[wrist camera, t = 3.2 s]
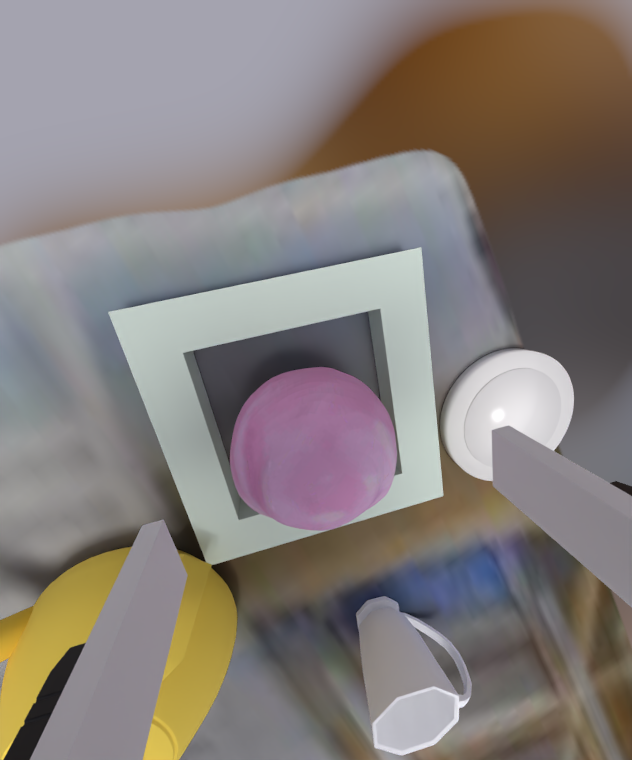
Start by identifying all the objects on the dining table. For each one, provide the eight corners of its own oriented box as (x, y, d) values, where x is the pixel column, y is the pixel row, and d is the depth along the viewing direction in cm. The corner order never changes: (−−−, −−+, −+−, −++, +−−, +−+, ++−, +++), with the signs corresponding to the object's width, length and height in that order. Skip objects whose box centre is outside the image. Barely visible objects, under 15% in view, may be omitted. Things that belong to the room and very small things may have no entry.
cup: (353, 581, 29) (388, 687, 21) (449, 588, 31) (511, 686, 24) (332, 641, 31) (357, 760, 23) (424, 643, 33) (475, 751, 25)
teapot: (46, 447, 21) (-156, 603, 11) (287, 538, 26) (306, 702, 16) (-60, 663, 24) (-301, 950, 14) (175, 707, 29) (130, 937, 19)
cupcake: (220, 441, 23) (195, 549, 14) (263, 327, 21) (268, 360, 12) (332, 472, 25) (376, 583, 16) (378, 372, 24) (458, 429, 14)
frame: (212, 540, 25) (207, 566, 23) (126, 308, 20) (108, 312, 17) (427, 477, 27) (443, 496, 25) (403, 251, 22) (421, 247, 19)
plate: (444, 487, 28) (453, 497, 26) (434, 366, 24) (444, 371, 23) (558, 454, 29) (572, 461, 28) (563, 334, 26) (579, 336, 24)
